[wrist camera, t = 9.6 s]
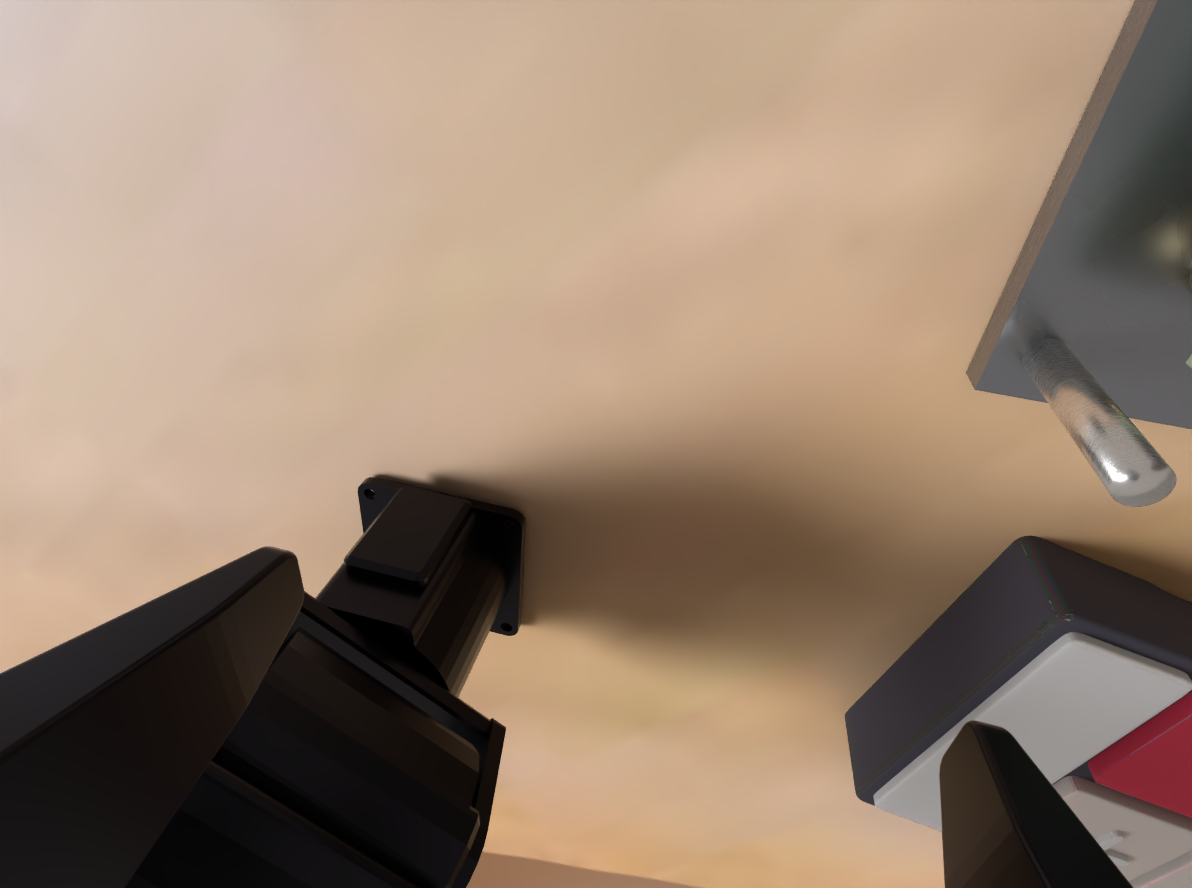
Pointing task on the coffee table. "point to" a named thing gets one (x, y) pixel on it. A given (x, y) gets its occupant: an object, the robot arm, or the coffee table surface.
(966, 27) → the coffee table surface
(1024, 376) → the chassis
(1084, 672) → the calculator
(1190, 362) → the board
